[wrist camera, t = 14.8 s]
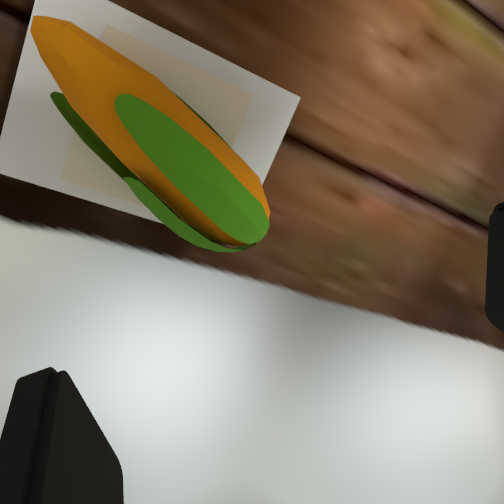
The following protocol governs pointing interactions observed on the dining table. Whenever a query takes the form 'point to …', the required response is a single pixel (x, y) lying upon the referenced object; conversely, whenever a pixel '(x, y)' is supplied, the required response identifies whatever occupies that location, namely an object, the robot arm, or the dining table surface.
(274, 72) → the dining table surface
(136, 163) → the corn
